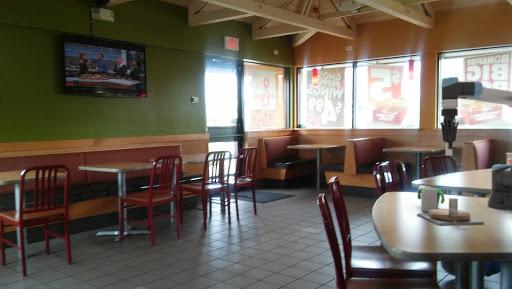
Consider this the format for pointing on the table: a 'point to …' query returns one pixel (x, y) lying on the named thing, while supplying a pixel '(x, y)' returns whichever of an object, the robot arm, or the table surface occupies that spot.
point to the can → (428, 199)
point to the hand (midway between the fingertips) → (448, 155)
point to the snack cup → (437, 195)
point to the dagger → (423, 187)
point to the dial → (450, 212)
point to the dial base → (443, 222)
